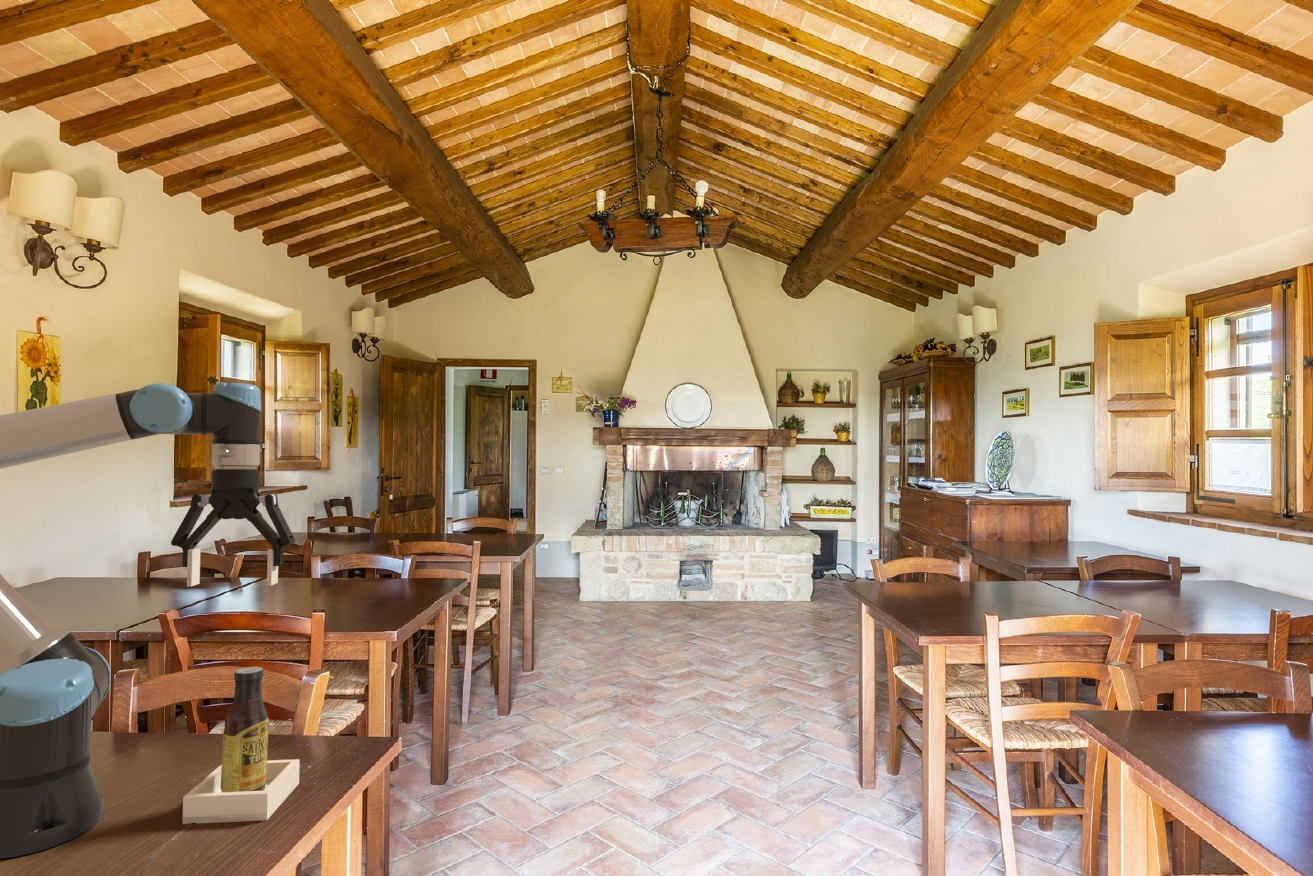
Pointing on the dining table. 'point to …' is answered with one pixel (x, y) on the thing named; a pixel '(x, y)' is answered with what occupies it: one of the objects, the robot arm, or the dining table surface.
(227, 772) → the sauce bottle
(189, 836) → the dining table surface
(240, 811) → the square white tray
